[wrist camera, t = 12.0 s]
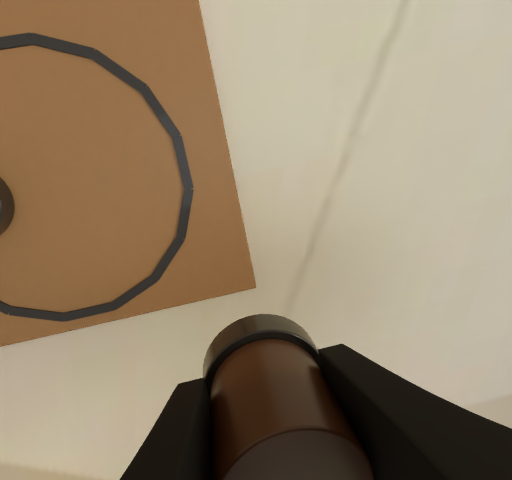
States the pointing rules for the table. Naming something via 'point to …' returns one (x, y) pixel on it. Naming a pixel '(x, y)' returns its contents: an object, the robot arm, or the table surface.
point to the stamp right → (276, 407)
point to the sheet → (112, 165)
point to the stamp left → (5, 206)
